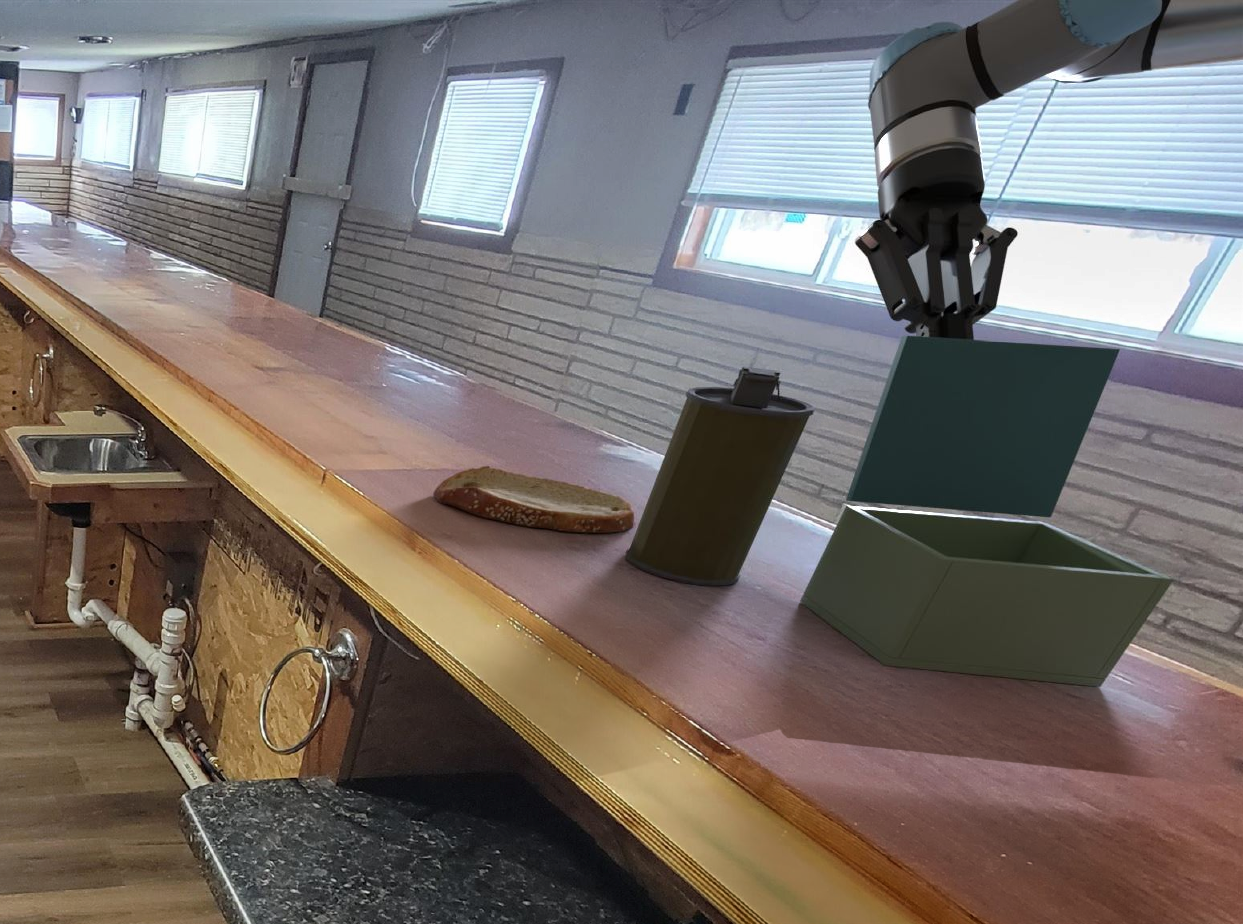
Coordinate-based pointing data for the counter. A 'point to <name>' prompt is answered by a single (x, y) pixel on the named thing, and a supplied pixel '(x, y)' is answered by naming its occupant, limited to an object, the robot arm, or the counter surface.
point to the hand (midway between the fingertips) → (949, 382)
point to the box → (981, 595)
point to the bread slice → (535, 501)
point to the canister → (718, 479)
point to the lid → (980, 424)
